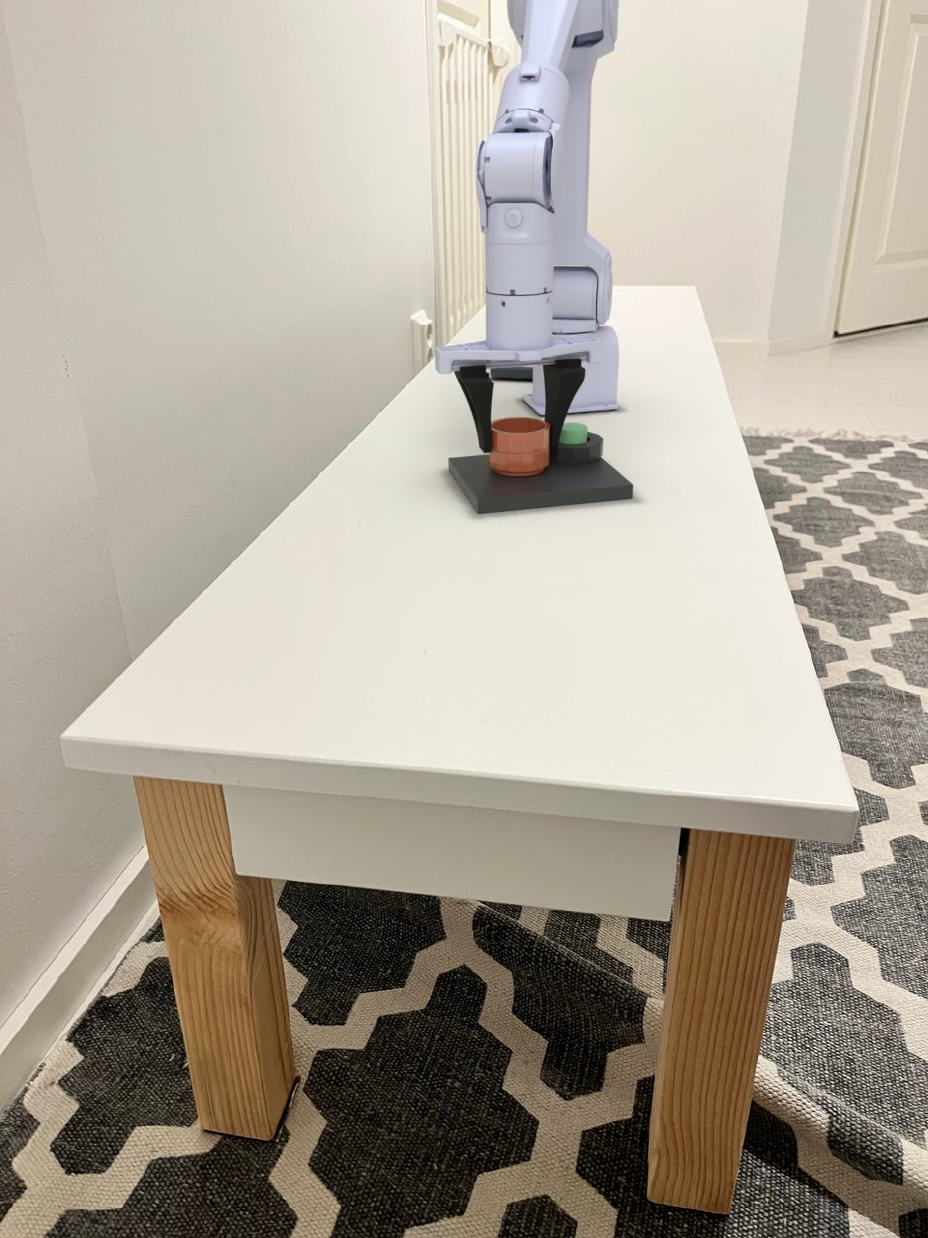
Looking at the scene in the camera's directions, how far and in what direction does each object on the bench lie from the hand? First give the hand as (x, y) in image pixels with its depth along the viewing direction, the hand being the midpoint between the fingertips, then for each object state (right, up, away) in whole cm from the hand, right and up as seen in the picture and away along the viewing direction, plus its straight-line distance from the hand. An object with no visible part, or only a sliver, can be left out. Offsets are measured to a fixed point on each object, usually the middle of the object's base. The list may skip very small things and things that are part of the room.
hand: (518, 446), depth 88 cm
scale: (+2, -3, +1) cm, 4 cm away
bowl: (0, -2, +1) cm, 2 cm away
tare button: (+5, +1, +4) cm, 7 cm away
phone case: (+4, +18, +44) cm, 47 cm away
